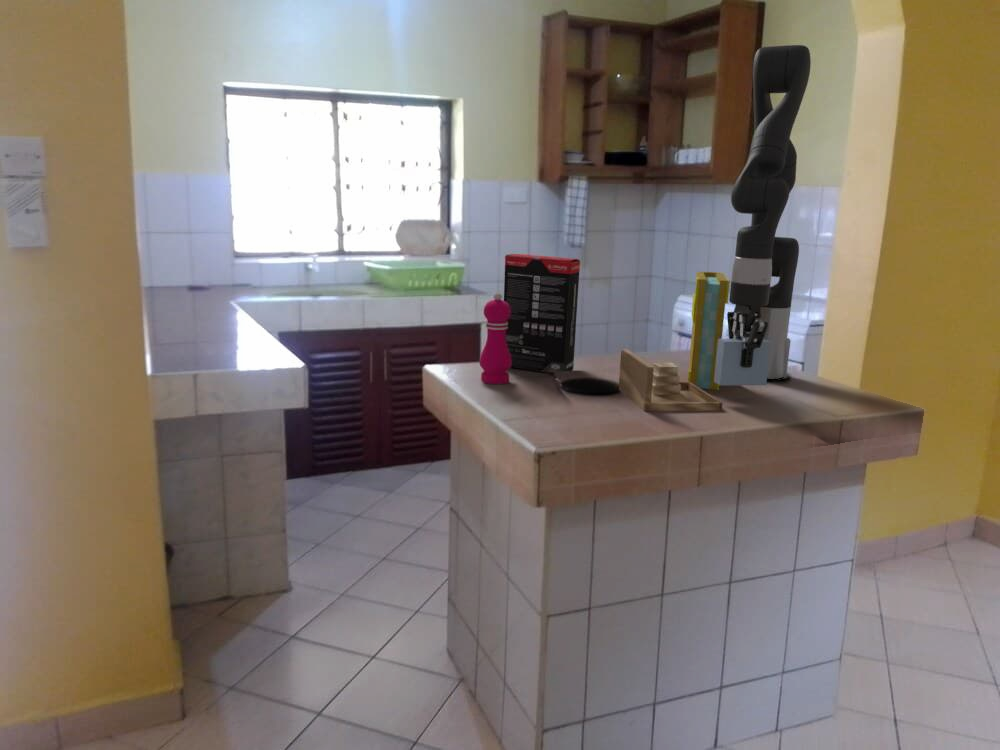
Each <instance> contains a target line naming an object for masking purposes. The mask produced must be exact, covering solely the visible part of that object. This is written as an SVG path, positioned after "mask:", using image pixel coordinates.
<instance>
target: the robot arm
mask: <svg viewBox="0 0 1000 750" xmlns="http://www.w3.org/2000/svg"><path fill="white" fill-rule="evenodd" d="M811 63H812V62H811V52H810V49H809V47H808V46H806V45H804V44H803V45H802V44H791V45H772V46H764V47H760V48H758V49H757V51H756V52H755V54H754V59H753V65H752V87H753V89H752V90H753V92H752V93H753V119H754V122H753V125H754V127H753V129H754V130H753V136H752V139H751V144H750V148H749V153H748V158H747V161H746V163H745V166H744V167H743V170H742V171H741V173H740V175H739V176H738V177H737V179H736V181H735V183H734V185H733V187H732V191H731V194H730V201H731V206H732V208H733V209H734V211H736V212H737V213H740V214H748V215H750V214H751V222H750V223H751V225H749V226H743V227H741V228H739V230H738V231H737V235H736V243H735V244H736V245H735V255H734V259H733V260H734V261H733V265H732V270H731V281H730V287H729V297H728V302H729V303H731V304H733V305H735V306H734V309H733V311H728V312H727V314H726V316H727V318H726V319H727V328H728V329H727V330H728V331H727V332H728V339H742V348H743V349H742V354H741V363H740V366H741V367H743V368H750V367H751V366H752V361H753V352H754V349H756V348H760V346H761V344H762V341H763V339H765V340H768V341H770V342H771V348H770V356H769V365H768V374H767V378H771V379H775V378H781V377H784V378H783V379H787V373H788V366H789V357H790V347H791V342H792V341H791V339H790V338H789V337H788V335H789V334H788V333H789V325H790V318H791V310H792V300H793V294H794V286H795V285H794V284H795V277H796V272H797V268H798V267H797V266H798V263H799V254H800V245H799V241H798V240H797V239H796V238H793V237H782V236H776V232H777V229H778V227H779V224H780V220H781V219H782V215H783V213H784V211H785V209H786V206H787V203H788V200H789V197H790V193H791V191H792V190H793V188H794V187H795V184H796V179H797V160H798V156H797V155H798V154H797V150H796V147H795V146H794V144H793V142H792V140H791V139H790V138H791V134H792V130H793V127H794V125H795V122H796V119H797V116H798V114H799V110H800V107H801V104H802V102H803V98H804V96H805V93H806V90H807V87H808V83H809V79H810V75H811V66H812V65H811ZM771 94H785V95H784V97H783V98H782V99H781V100H780V102H779V103H778V104H777V105H776V106H775V107H773V103H772V99H771ZM773 277H774V278H779V279H778V281H777V283H776V284H774V285H772V286H771V281H772V278H773ZM747 339H748V341H747ZM756 339H757V342H756Z"/></svg>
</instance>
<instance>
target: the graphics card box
mask: <svg viewBox="0 0 1000 750" xmlns="http://www.w3.org/2000/svg"><path fill="white" fill-rule="evenodd" d="M580 269H581V260H580V259H578V258H570V257H560V256H547V255H535V254H523V253H520V254H519V253H508V254H505V256H504V283H503V284H504V285H503V301H505V302H507V303H508V304H509V306H510V309H511V315H510V317H509V318H508V319H507V321H506V322H508V328H507V329H506V344H507V347H508V349H509V352H510V355H511V359H512V365H511V367H510V368H515V369H521V370H527V371H534V372H541V373H544V374H552V375H554V374H555V373H554V372H572V371H573V370H574V364H575V363H574V361H575V348H576V347H575V346H576V332H577V331H576V330H577V312H578V298H579V284H580V283H579V282H580Z"/></svg>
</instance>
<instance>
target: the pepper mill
mask: <svg viewBox="0 0 1000 750" xmlns="http://www.w3.org/2000/svg"><path fill="white" fill-rule="evenodd" d="M502 296H503V295H502V293H500V292H495V293H494V295H493V299H491V300H489V301H488V302H487V303H485V305H484V307H483V315H484V318H486V321H485V328H486V329H487V330H486V333H487V336H486V342H485V345H484V347H483V349H482V351H481V354H480V356H479V366H480V367H481V369H482V370H483V371H482V372H481V374H480V375H481V376H480V380H481V382H483V383H484V382H485V384H488V383H490V385H503V384H504V385H505V384H507V383H509V381H510V373H509V372H508V370H509V369H511V368H512V367H511V365H512V359H511V355H510V352H509V349H508V347H507V344H506V329H507V328H508V322H506V321H507V319H508V318H509V317H510V315H511V309H510V306H509V304H508V303H507V302H505V301H504V299H502Z"/></svg>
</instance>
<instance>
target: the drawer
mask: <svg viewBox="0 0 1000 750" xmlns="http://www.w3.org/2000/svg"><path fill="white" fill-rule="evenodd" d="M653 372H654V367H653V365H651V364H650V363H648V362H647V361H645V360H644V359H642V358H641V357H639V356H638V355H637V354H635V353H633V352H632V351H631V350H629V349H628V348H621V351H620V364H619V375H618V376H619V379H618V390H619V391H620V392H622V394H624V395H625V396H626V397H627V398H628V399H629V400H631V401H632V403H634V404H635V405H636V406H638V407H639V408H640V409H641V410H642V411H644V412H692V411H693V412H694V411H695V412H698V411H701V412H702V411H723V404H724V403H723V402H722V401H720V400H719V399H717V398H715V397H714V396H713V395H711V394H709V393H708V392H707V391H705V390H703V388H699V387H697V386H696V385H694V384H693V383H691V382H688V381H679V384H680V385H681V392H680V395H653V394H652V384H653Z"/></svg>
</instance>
